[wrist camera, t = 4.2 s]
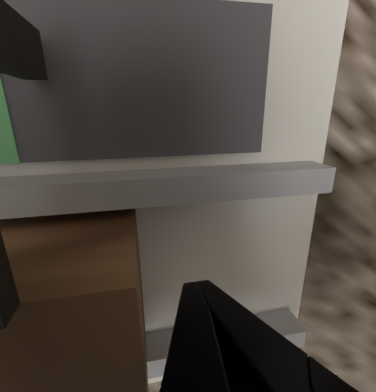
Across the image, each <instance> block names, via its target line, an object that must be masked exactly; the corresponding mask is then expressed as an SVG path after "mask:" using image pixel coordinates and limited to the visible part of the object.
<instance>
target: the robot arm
mask: <svg viewBox="0 0 376 392" xmlns="http://www.w3.org/2000/svg"><path fill="white" fill-rule="evenodd" d="M159 392H359V391H358V390H356V389H355V388H353V387H352V386H350V385H349V384H347V383H346V382H345V381H343V380H342V379H340V378H339V377H338V376H336V375H335V374H334V373H332V372H331V371H329V370H328V369H327V368H325V367H324V366H323V365H321V364H320V363H319V362H317V361H316V360H315V359H313V358H312V357H310V356H309V357H308V356H307V354H306V353H305V352H304V351H302V350H301V349H300V348H298V347H297V346H296V345H295V344H293V343H292V342H291V341H289V340H288V339H287V338H285V337H284V336H283V335H281V334H280V333H279V332H277V331H276V330H275V329H273V328H272V327H271V326H269V325H268V324H267V323H265V322H264V321H263V320H261V319H260V318H259V317H257V316H256V315H255V314H253V313H252V312H251V311H249V310H248V309H247V308H245V307H244V306H243V305H241V304H240V303H239V302H237V301H236V300H235V299H233V298H232V297H231V296H229V295H228V294H227V293H225V292H224V291H223V290H221V289H220V288H219V287H217V286H216V285H215V284H214V283H212V282H211V281H209V280H202V281H196V282H187V283H184V284H183V286H182V291H181V295H180V300H179V304H178V309H177V314H176V318H175V323H174V328H173V332H172V337H171V341H170V346H169V351H168V355H167V360H166V364H165V369H164V374H163V378H162V383H161V388H160V391H159Z"/></svg>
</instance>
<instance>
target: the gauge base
mask: <svg viewBox="0 0 376 392" xmlns="http://www.w3.org/2000/svg"><path fill="white" fill-rule="evenodd" d="M4 1H5V2H6V3H7V4H9V5H10V6H11V7H12V8H13V9H14V10H16V11H17V12H18V13H19V14H20V15H21V16H23V17H24V18H25V19H26V20H27V21H29V22H30V23H31V24H32V25H33V26H34V27H36V28H37V29H38V30H39V31H40V37H41V43H42V49H43V54H44V60H45V66H46V72H47V78H48V80H23V79H20V78H16V77H13V76H10V75H6V74H3V73H0V219H11V218H23V217H36V216H48V215H61V214H73V213H85V212H98V211H110V210H123V209H136V221H137V234H138V246H139V258H140V270H141V282H142V294H143V307H144V319H145V332H146V351H147V371H148V384H150V383H154V382H159V381H162V378H163V374H164V369H165V364H166V360H167V355H168V351H169V346H170V341H171V337H172V332H173V328H174V323H175V318H176V314H177V309H178V304H179V300H180V295H181V291H182V286H183V284H184V283H187V282H196V281H202V280H209V281H211V282H212V283H214V284H215V285H216V286H217V287H219V288H220V289H221V290H223V291H224V292H225V293H227V294H228V295H229V296H231V297H232V298H233V299H235V300H236V301H237V302H239V303H240V304H241V305H243V306H244V307H245V308H247V309H248V310H249V311H251V312H252V313H253V314H255V315H256V316H257V317H259V318H260V319H261V320H263V321H264V322H265V323H267V324H268V325H269V326H271V327H272V328H273V329H275V330H276V331H277V332H279V333H280V334H281V335H283V336H284V337H285V338H287V339H288V340H289V341H291V342H292V343H293V344H295V345H296V346H297V347H298V348H303V347H304V345H305V340H306V334H307V331H306V330H305V328H304V327H303V326H302V325H301V323H300V322H299V321H298V314H299V308H300V302H301V296H302V289H303V283H304V277H305V271H306V264H307V258H308V252H309V246H310V240H311V233H312V227H313V221H314V215H315V209H316V202H317V196H318V194H322V193H332V189H333V183H334V178H335V172H336V167H332V166H329V165H325V164H323V159H324V153H325V146H326V140H327V134H328V128H329V121H330V115H331V109H332V103H333V97H334V90H335V84H336V78H337V72H338V65H339V59H340V53H341V47H342V41H343V34H344V28H345V22H346V16H347V9H348V3H349V0H4Z"/></svg>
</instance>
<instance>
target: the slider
mask: <svg viewBox="0 0 376 392" xmlns="http://www.w3.org/2000/svg"><path fill="white" fill-rule="evenodd" d="M0 73H3V74H6V75H10V76H13V77H16V78H20V79H23V80H48V78H47V72H46V66H45V60H44V54H43V49H42V43H41V37H40V31H39V30H38V29H37V28H36V27H34V26H33V25H32V24H31V23H30V22H29V21H27V20H26V19H25V18H24V17H23V16H21V15H20V14H19V13H18V12H17V11H16V10H14V9H13V8H12V7H11V6H10V5H9V4H7V3H6V2H5V1H4V0H0ZM0 392H149V390H148V371H147V351H146V332H145V319H144V307H143V294H142V282H141V270H140V258H139V246H138V234H137V221H136V209H123V210H110V211H98V212H85V213H73V214H61V215H48V216H36V217H23V218H11V219H0Z"/></svg>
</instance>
